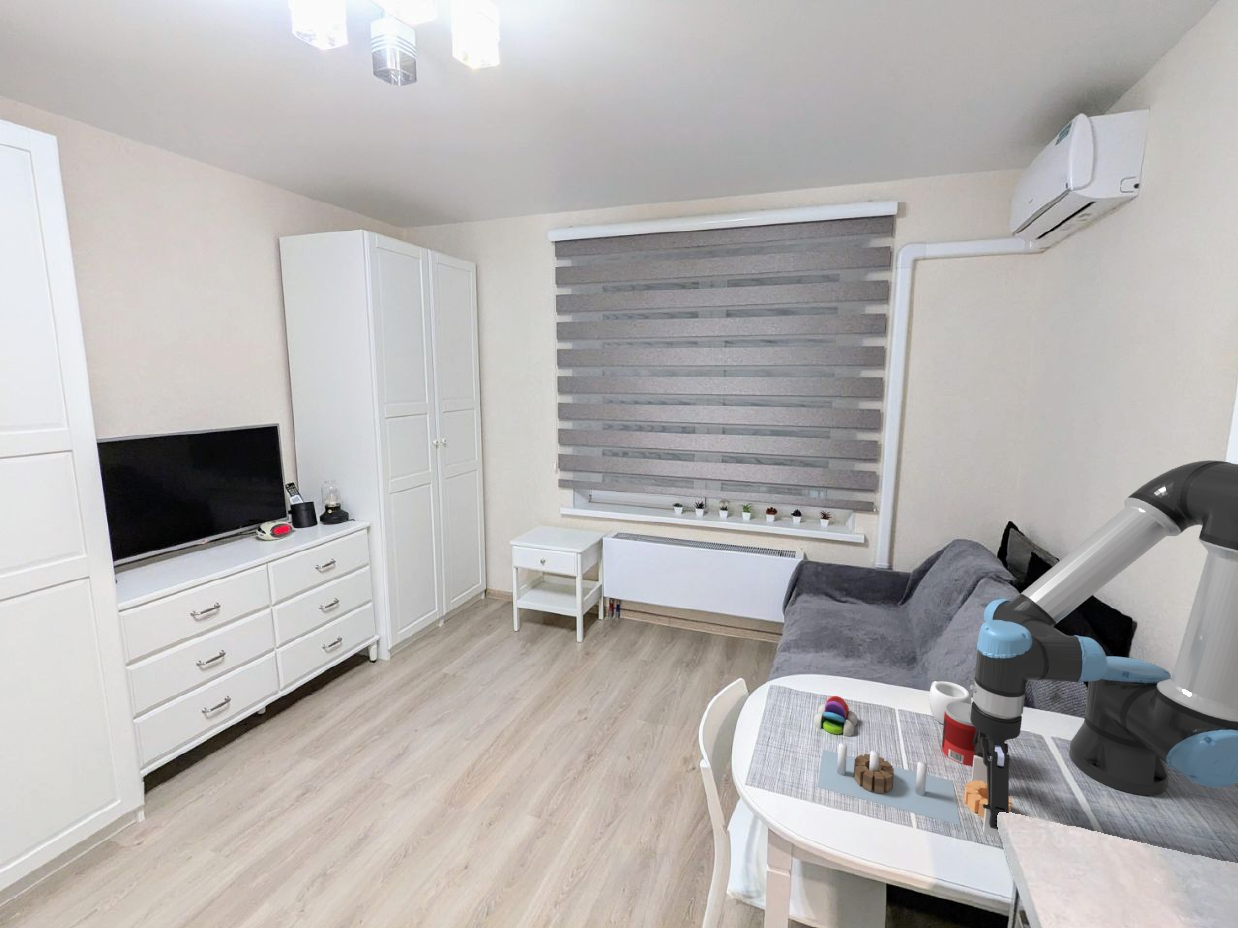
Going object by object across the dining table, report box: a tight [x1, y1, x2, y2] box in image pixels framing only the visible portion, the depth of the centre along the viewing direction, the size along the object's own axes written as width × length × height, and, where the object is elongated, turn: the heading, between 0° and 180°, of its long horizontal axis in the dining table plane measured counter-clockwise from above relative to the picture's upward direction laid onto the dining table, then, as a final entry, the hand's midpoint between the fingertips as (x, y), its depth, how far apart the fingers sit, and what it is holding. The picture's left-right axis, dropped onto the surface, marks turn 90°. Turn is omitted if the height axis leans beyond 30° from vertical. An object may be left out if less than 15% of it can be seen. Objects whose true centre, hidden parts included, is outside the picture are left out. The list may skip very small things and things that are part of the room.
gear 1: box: [854, 753, 894, 793], centre depth 112 cm, size 7×7×3 cm
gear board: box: [817, 742, 962, 826], centre depth 111 cm, size 24×12×8 cm, turn 66°
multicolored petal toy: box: [813, 695, 858, 737], centre depth 130 cm, size 8×10×7 cm
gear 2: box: [964, 780, 1013, 819], centre depth 105 cm, size 7×7×4 cm
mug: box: [928, 680, 972, 725], centre depth 134 cm, size 12×8×8 cm
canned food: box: [941, 702, 977, 767], centre depth 119 cm, size 8×8×11 cm
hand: (984, 812), depth 105 cm, fingers open, 13 cm apart
